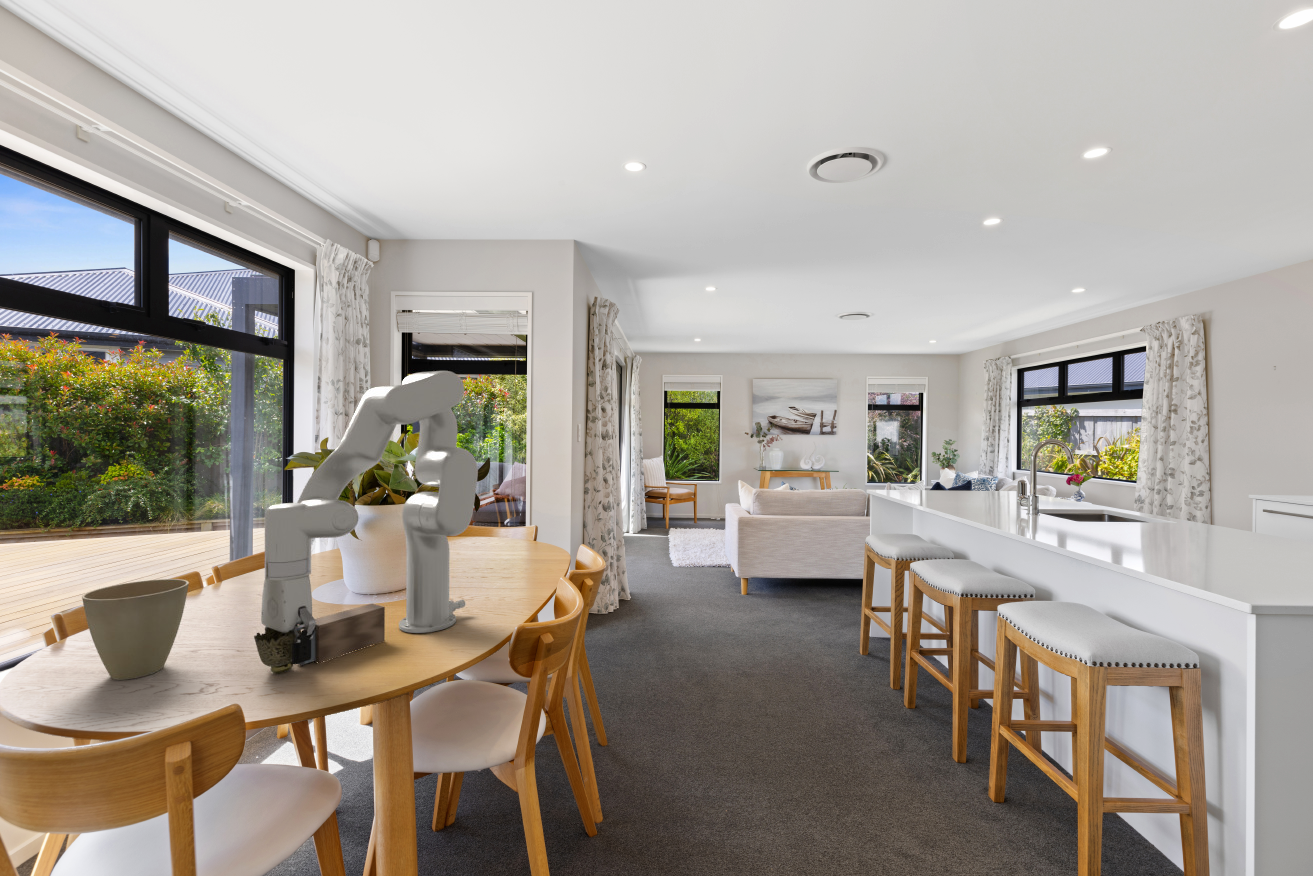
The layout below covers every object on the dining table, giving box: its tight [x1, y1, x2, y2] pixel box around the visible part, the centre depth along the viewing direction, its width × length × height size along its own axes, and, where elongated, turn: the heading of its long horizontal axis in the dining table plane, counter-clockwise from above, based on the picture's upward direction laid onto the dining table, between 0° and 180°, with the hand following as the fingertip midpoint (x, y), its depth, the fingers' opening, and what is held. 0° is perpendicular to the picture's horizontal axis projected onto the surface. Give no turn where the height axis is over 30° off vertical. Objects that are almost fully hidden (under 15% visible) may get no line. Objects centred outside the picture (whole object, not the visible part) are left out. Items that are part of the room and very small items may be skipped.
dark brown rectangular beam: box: [314, 603, 386, 664], centre depth 118 cm, size 14×5×8 cm, turn 149°
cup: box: [253, 625, 302, 675], centre depth 107 cm, size 8×7×8 cm
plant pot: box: [81, 578, 190, 681], centre depth 107 cm, size 15×15×16 cm
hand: (288, 656), depth 109 cm, fingers open, 9 cm apart
